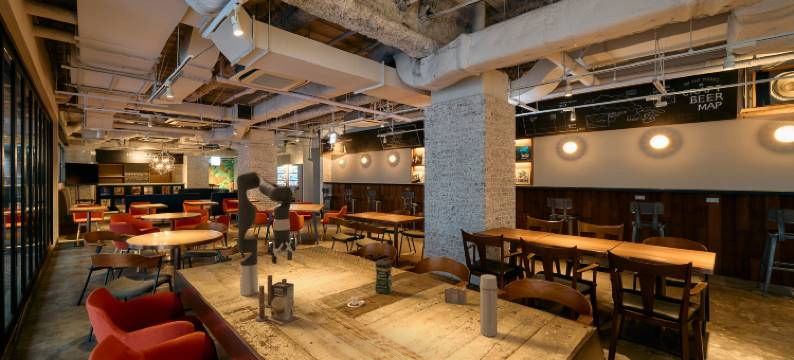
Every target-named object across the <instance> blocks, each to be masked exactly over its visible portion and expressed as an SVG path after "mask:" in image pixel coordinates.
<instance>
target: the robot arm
mask: <svg viewBox="0 0 794 360" xmlns="http://www.w3.org/2000/svg"><path fill="white" fill-rule="evenodd" d="M236 187H237V188H236V190H237V199H238V200H237V204H238V205H237V206H238V207H237V221H238V222H237V224H238V225H237V226H238V227H237V228H238V230H237V231H238V232H237V243H236V246H237V248H236V249H237V251H238V253H239V254H248V253H251V254H249V255H247V256H246V257H243V258H241V260H240V277H239V287H240V288H239V289H240V291H239V292H240V295H241V296H244V297H245V296H246V297H248V296H254V295H257V294H259V282H258V281H259V278H258V275H259V274H258V273H259V271H258V270H259V269H258V245H259V244H258V238H257V236H252V235H251V236H246V234H247V232H248V231H249V230H250V229H251V227H252V226H253V225H254V223H255V221H256V218H257V208H256V206H255V205H254V203H253V202H252V201H251V200H250V199H249V197H248V195H247V192H248V191H250V190H254V189H259V192H260V193H261V194H262V195H264V196H266V197H268V198H269V199H270V201H272V202H275V203H279V202H281V204H280V205H278V206H275V207H274V209H273V225H272V226H273V227H272V228H273V230H272V231H273V242H272V241H271V242H270V241H269V242H267V255H268V256H271V263H272V264H273V265H276V264H278V263H277V259H278V258H277V257H278V256H277V254H278V253H279V252H280V251H282V250H286V251H287V253H286V257H287V259H286V260H287V261H292V259H293V252H295V251H296V250H297V249H296V247H297V246H296V239H295V238H293V237H291V223H290V208H291V204H292V200H293V194H294V193H293V190H292V188H291V187H289V186H279V185H278V184H276V183H274V182H271V181H270V180H267V179H266V178H265V177H264V176H262V175H261V174H260V173H258V172H256V171H249V172H244V173H239V174H238V175H237V177H236Z"/></svg>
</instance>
